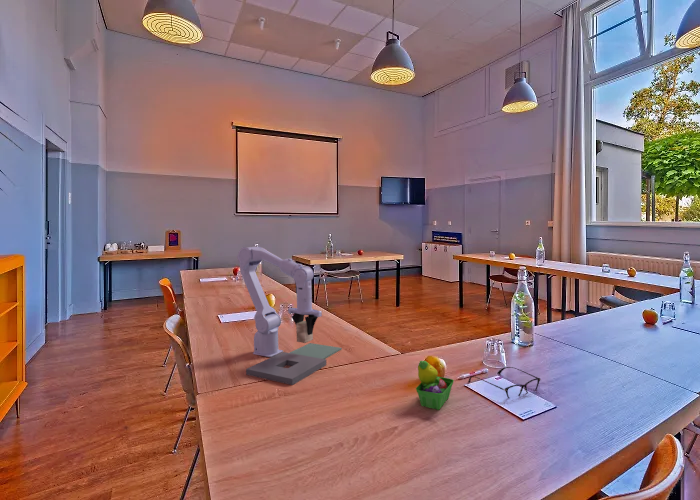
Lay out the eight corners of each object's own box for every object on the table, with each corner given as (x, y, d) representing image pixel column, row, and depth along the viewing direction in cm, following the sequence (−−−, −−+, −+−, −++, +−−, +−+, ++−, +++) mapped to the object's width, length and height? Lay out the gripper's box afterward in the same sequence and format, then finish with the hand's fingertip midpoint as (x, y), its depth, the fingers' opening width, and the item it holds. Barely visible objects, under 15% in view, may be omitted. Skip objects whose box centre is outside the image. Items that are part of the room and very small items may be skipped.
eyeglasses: (505, 402, 104) (505, 388, 104) (464, 383, 118) (464, 370, 118) (543, 390, 112) (543, 377, 111) (500, 373, 126) (500, 361, 125)
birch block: (296, 341, 142) (296, 323, 141) (304, 338, 146) (304, 320, 146) (305, 343, 140) (304, 324, 139) (312, 339, 144) (312, 321, 144)
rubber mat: (286, 355, 147) (286, 353, 147) (310, 344, 161) (310, 342, 161) (320, 361, 139) (320, 359, 139) (341, 349, 153) (341, 347, 153)
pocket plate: (246, 374, 128) (246, 368, 128) (283, 356, 145) (283, 351, 145) (292, 385, 118) (292, 378, 118) (326, 364, 136) (326, 359, 136)
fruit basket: (442, 413, 98) (441, 371, 97) (410, 405, 103) (410, 365, 102) (454, 396, 108) (454, 358, 107) (425, 390, 112) (425, 353, 112)
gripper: (282, 298, 143) (283, 333, 143) (313, 301, 135) (314, 338, 136) (294, 296, 149) (295, 329, 149) (324, 298, 141) (325, 333, 142)
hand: (305, 333), depth 143 cm, fingers closed on birch block, 4 cm apart
